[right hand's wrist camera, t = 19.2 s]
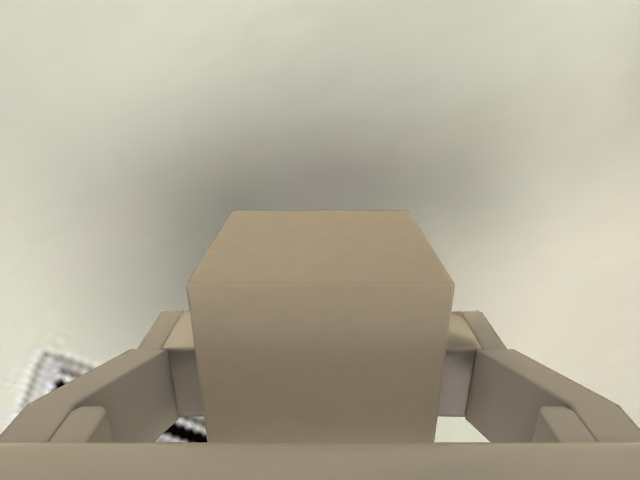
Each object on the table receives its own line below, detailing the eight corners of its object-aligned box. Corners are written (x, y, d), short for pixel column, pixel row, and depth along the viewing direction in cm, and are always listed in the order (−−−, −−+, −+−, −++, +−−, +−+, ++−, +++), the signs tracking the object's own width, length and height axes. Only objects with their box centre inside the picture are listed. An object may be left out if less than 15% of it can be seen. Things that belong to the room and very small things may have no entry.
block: (409, 209, 11) (457, 283, 7) (396, 367, 13) (428, 493, 9) (231, 209, 11) (184, 283, 7) (244, 368, 13) (213, 493, 9)
